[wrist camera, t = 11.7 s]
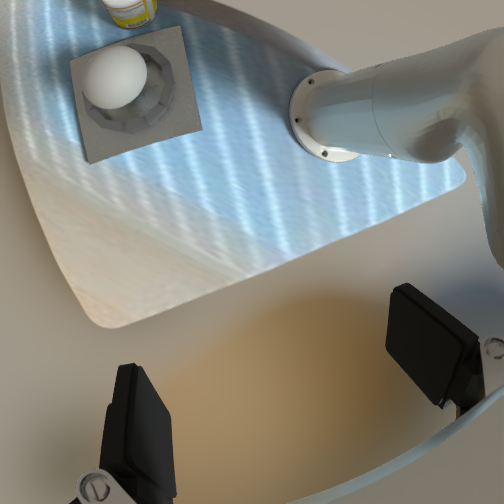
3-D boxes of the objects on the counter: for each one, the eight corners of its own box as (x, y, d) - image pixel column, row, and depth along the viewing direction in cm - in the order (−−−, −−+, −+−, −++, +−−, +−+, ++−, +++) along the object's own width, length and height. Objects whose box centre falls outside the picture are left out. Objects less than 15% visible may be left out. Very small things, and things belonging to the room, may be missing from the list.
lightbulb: (96, 86, 26) (61, 65, 16) (141, 58, 26) (124, 24, 16) (118, 126, 29) (89, 119, 19) (164, 98, 29) (154, 77, 19)
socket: (166, 42, 26) (164, 33, 24) (181, 117, 30) (181, 115, 28) (85, 68, 25) (77, 62, 22) (100, 143, 29) (92, 143, 26)
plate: (180, 28, 27) (180, 25, 26) (202, 130, 32) (202, 129, 31) (72, 62, 25) (69, 61, 24) (91, 164, 30) (89, 164, 30)
